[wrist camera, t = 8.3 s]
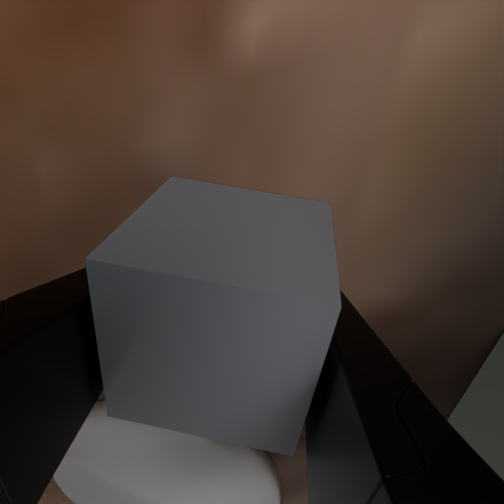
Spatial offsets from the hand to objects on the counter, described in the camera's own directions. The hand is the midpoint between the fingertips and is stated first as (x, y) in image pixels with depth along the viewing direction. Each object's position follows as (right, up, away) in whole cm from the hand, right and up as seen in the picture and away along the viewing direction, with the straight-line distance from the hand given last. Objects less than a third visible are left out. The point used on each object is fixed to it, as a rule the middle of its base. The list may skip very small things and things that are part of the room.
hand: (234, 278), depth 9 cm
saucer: (-3, -9, +7) cm, 12 cm away
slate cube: (0, +1, +1) cm, 1 cm away
